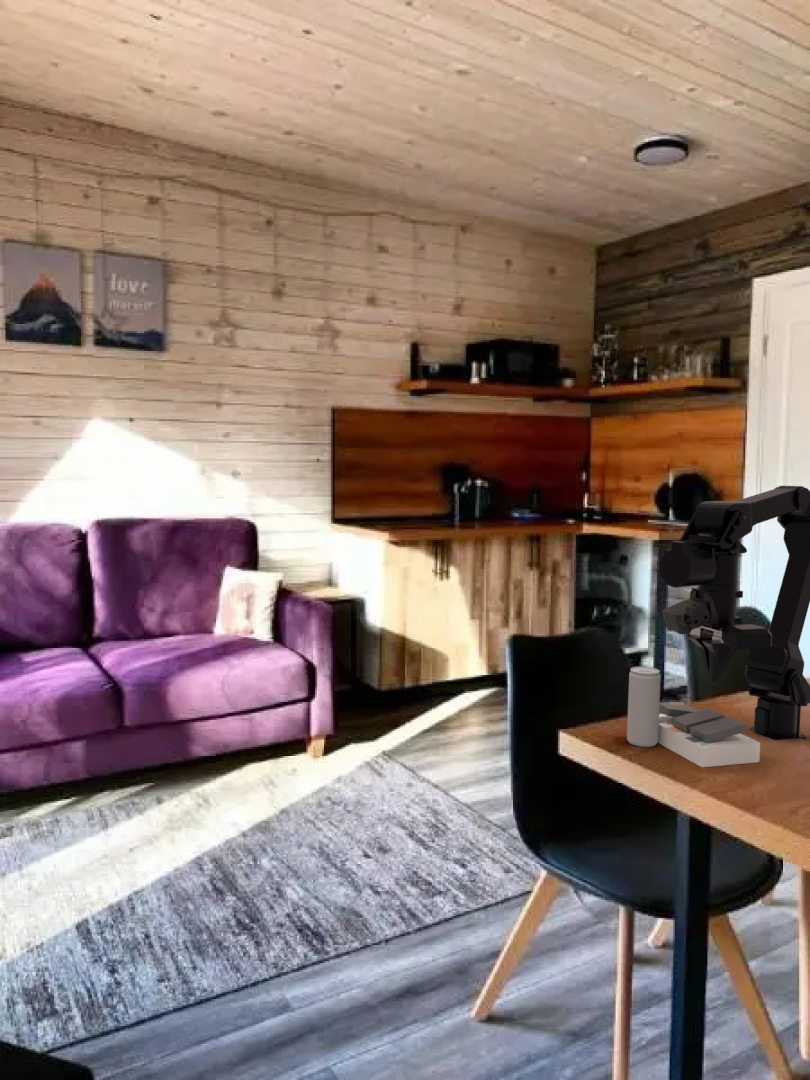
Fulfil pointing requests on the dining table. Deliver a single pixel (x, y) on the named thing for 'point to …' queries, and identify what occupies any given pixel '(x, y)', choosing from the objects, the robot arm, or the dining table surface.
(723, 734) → the block
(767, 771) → the dining table surface
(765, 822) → the dining table surface
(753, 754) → the rocker switch panel
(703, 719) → the block
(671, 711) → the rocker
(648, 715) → the beverage can
